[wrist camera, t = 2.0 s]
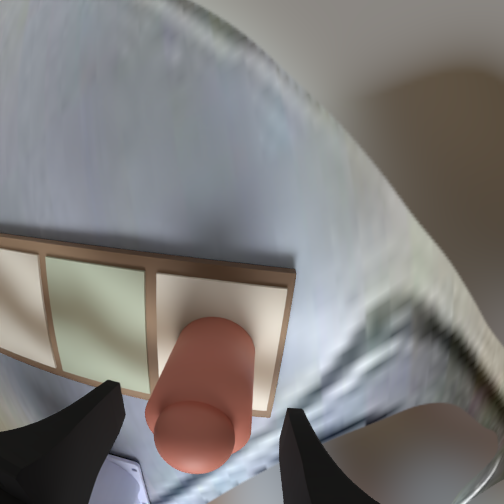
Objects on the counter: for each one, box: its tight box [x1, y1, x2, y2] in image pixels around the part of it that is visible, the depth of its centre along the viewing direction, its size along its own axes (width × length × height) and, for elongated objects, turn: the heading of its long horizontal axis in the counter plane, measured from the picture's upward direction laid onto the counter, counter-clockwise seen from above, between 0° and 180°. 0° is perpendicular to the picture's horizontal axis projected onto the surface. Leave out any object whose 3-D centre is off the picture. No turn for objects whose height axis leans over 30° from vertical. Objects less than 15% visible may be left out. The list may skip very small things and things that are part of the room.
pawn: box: [145, 317, 255, 474], centre depth 13 cm, size 4×4×8 cm
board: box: [0, 233, 296, 418], centre depth 18 cm, size 10×30×1 cm, turn 84°
